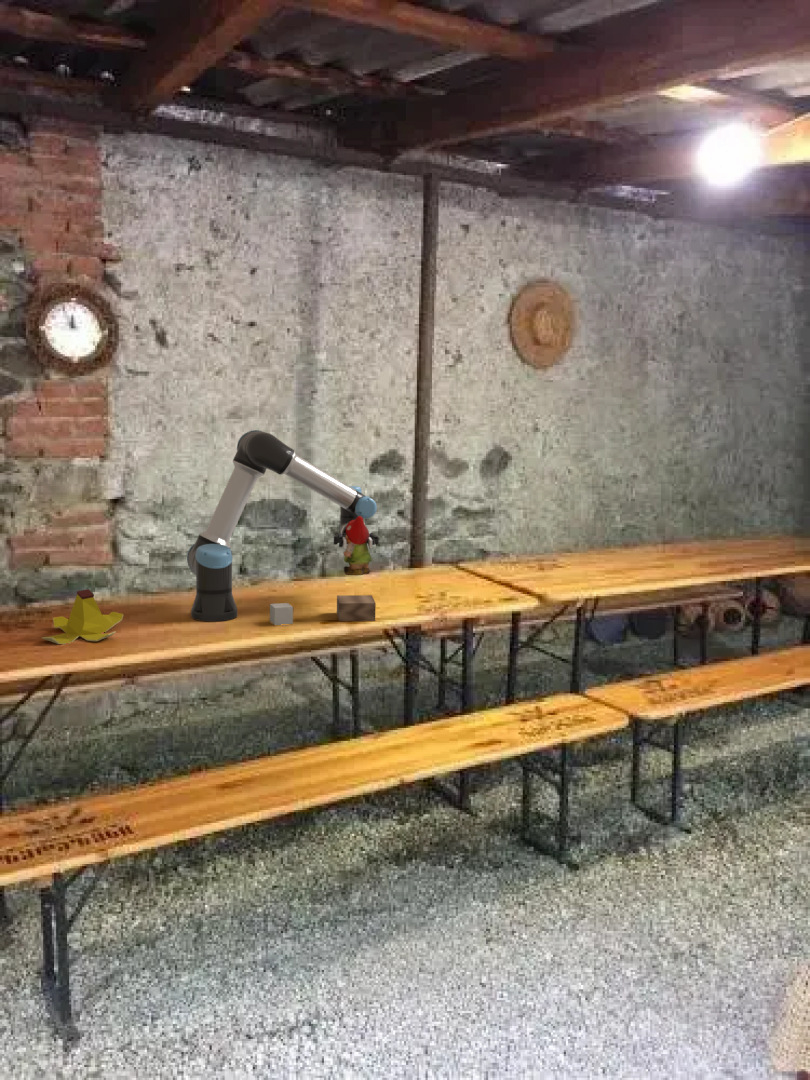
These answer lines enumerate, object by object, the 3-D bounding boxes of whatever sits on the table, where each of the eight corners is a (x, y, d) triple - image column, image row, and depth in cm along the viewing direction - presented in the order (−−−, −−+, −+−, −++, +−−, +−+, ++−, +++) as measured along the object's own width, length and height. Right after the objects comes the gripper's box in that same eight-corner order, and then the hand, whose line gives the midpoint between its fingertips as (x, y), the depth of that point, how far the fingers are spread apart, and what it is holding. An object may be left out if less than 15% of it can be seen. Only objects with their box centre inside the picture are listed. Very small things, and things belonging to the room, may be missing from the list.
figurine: (352, 570, 334) (352, 512, 331) (376, 572, 331) (375, 513, 328) (339, 576, 324) (339, 516, 320) (363, 578, 321) (363, 518, 318)
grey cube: (274, 626, 315) (274, 608, 314) (269, 621, 320) (269, 604, 319) (292, 624, 317) (292, 606, 316) (287, 620, 323) (287, 602, 322)
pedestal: (339, 621, 323) (339, 603, 322) (336, 612, 335) (336, 595, 334) (375, 620, 325) (375, 603, 324) (371, 612, 337) (371, 595, 336)
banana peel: (139, 645, 297) (140, 599, 293) (48, 656, 282) (48, 607, 278) (116, 617, 317) (117, 573, 313) (29, 626, 302) (29, 580, 298)
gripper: (381, 544, 346) (389, 555, 323) (323, 544, 343) (326, 555, 320) (382, 523, 344) (389, 533, 322) (323, 523, 342) (326, 533, 319)
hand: (358, 544), depth 321 cm, fingers closed on figurine, 8 cm apart
